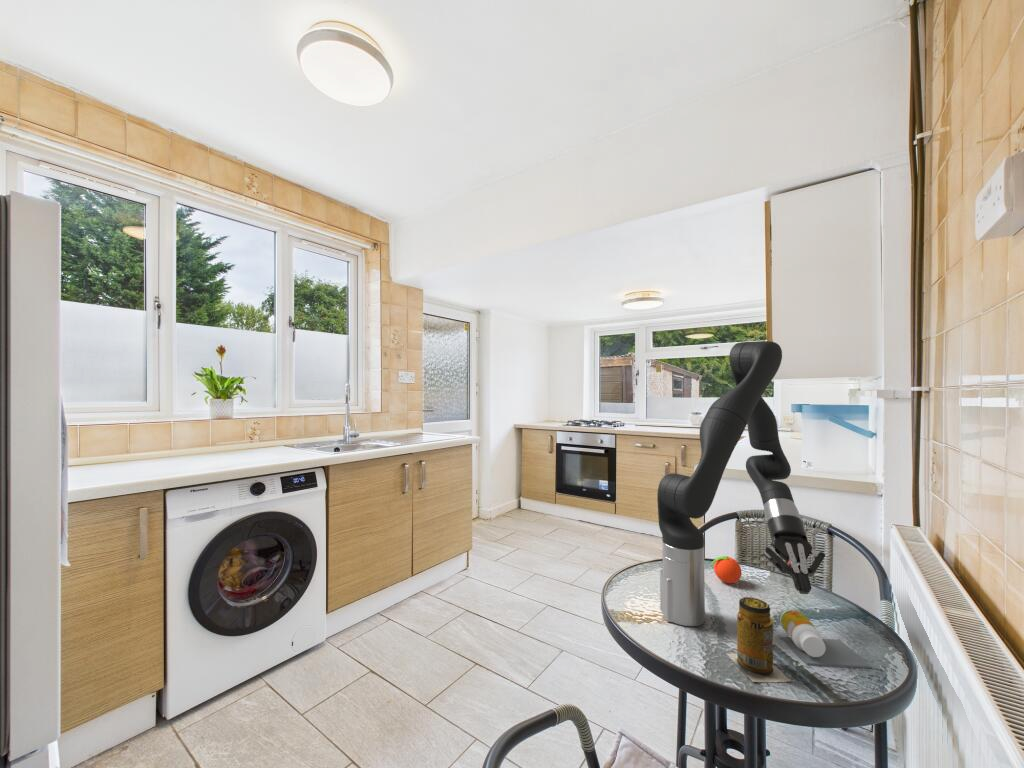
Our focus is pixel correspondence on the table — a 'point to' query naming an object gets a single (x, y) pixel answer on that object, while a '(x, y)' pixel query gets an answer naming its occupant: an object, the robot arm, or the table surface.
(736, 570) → the clementine
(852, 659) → the mat
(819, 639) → the supplement bottle
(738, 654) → the condiment
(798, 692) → the table surface
